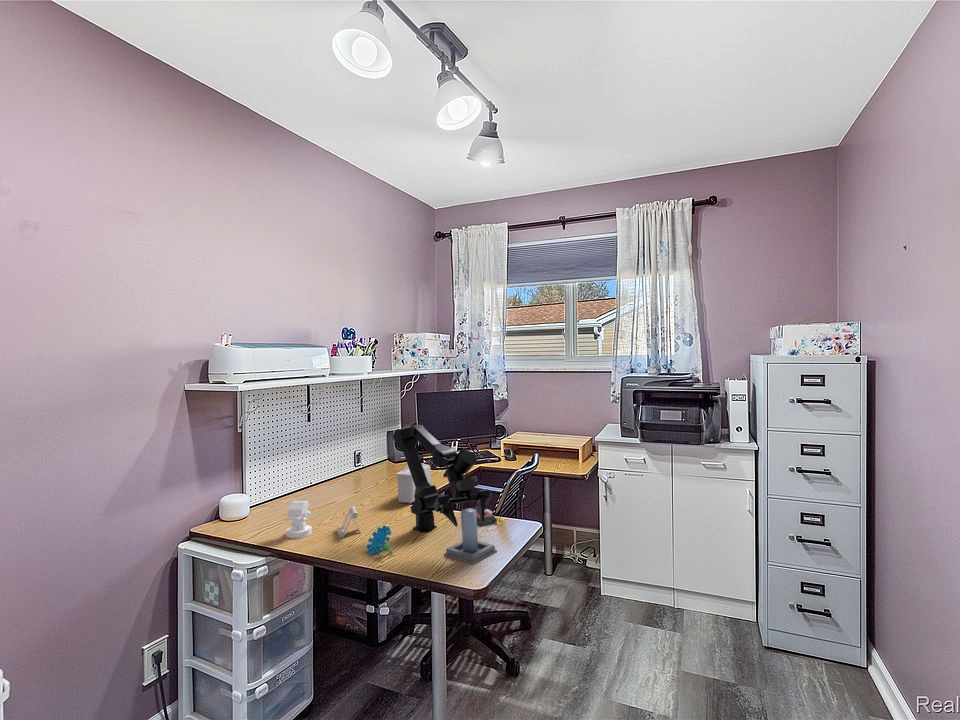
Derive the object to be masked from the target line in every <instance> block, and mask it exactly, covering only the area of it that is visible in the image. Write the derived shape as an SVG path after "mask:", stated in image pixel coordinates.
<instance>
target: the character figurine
mask: <svg viewBox="0 0 960 720" xmlns="http://www.w3.org/2000/svg"><path fill="white" fill-rule="evenodd" d="M311 507H312V505H311V504H310V503H309V502H308V500H292V502H290V503H289V506H288V508H287V509H286V510H287V515H288V516H286V521H287V520H288V521H289V520H291V522H292V523H291V524H290V525H291V526H290V527H288V528H287V529H286V531H285V532H286V533H285V534H286V537H287V538H288V537H289V539H300V538H304V537H305V538H306V537H308V536H310V535H312V533H313V531H312V526H311V525H309V524H306V522H307V521H308V519H309V517H310V516H311V515H312V513H311V511H310V508H311Z"/></svg>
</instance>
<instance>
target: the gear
mask: <svg viewBox="0 0 960 720" xmlns="http://www.w3.org/2000/svg"><path fill="white" fill-rule="evenodd" d="M371 535H372V536H373V537H369V538H368V540H367V541H368V542H369V543H367V544H366V547H365V548H366V549H367V550H366V551H367V553H368V554H372V555H375V554H376V553H378V554H379V553H380V552H381V549H383V550H384V551H385V552H387V551H388V552H389V553H390V554H393V552H394V551H393V550H392V549H390V545H389V544H387V543H388V542H389V541H390V539H391V538H390V537H389V536H391V535H392V531H391V527H390V526H386V525H385V524H384V525H383V526H382V527H380V526H379V527H378V528H377V531H373V532H372V533H371Z"/></svg>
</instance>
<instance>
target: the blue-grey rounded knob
mask: <svg viewBox="0 0 960 720" xmlns="http://www.w3.org/2000/svg"><path fill="white" fill-rule="evenodd" d="M460 521H461V522H460V523H461V542H462V545H463V551H464V552H467V553H470V554H473V553H475V552H477V551H478V541H479V537H478V523H477V514H476V509H474V508H471V507H470V508H463V509H461V510H460Z"/></svg>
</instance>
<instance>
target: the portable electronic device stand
mask: <svg viewBox="0 0 960 720" xmlns="http://www.w3.org/2000/svg"><path fill="white" fill-rule="evenodd" d="M358 516H359V513H358V512H357V509H356V507H355V506H353V505H352V506H350V507H349V509H348V511H347V514H346V515H345V518H344V521H343V524H342V525H341V526H340V525H339V524H337V527H336V528H337V533H338V537H339V538H341V539H342V538H344V537H345V536H346V533H347V531H348V528H349V526H350V523H351V520H352V519H353V521H354V523H355V526H356V528H357V530H358V531H359V534H361V532H362V531H361V529H360V527H359V525H358V524H357V521H356V519H357V518H359V517H358ZM348 518H349V519H348ZM347 521H348V522H347ZM346 522H347V523H346ZM345 525H346V526H345ZM344 527H345V528H344Z"/></svg>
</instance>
